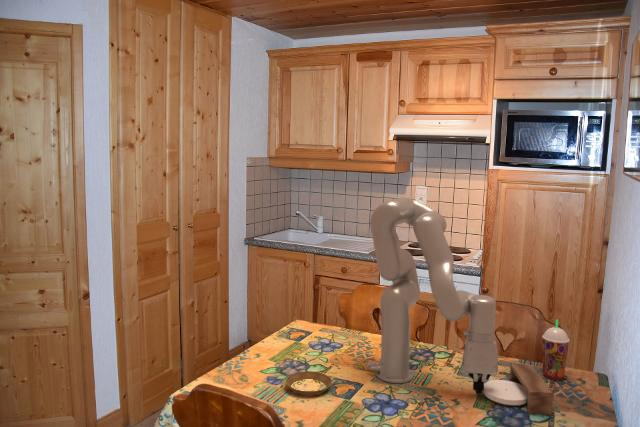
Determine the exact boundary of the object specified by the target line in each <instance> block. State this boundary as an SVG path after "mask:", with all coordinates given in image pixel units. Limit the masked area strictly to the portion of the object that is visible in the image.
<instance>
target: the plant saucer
mask: <svg viewBox="0 0 640 427" xmlns="http://www.w3.org/2000/svg"><path fill="white" fill-rule="evenodd" d="M303 379H313V380H318V381H321V382H322V383H324V384H325V385H326V388H325V389H322V390H318V391H300V390H296V389H294V388H292V387H291V385H292V384H293V383H294V382H296V381H299V380H303ZM285 384H286V385H287V387H288V389H290V390H291V391H293V393H295V394H297V395H299V394H301V395H300V396H304V395H314V396H318V395H317V394H319V395H321V394H323V393H325V392H326V391H327V390H328V389H329V388H330V387H331V386H332V384H333V380H332V378H331V377H330V376H329V375H327V374H326V373H325V374H324V373H323V372H318V371H310V370H309V371H299V372H295V373H292V374H290V375H289V376H287V377H286V378H285Z"/></svg>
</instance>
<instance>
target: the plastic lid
mask: <svg viewBox="0 0 640 427" xmlns="http://www.w3.org/2000/svg"><path fill="white" fill-rule="evenodd" d="M482 394H483V395H484V396H485V397H486V398H487V399H489V400H491V401H493V402H496V403H498V404H502V405H508V406H521V405H525V404H528V392H527V391H526V389H525V388H524V386H522V385H521V384H518V383H515V382H511V381H510V380H505V379H491V380H486V381H485V382H484V391H482Z"/></svg>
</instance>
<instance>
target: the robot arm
mask: <svg viewBox="0 0 640 427" xmlns="http://www.w3.org/2000/svg"><path fill="white" fill-rule="evenodd" d="M404 223H405V224H407V225H408V226H411V227H412V230H413V233H414V236H415V238H416V240H417V244H418V246H419V248H420V250H421V252H422V254H423V258H424V261H425V262H426V266H427V269H428V278H429V285H430V289H431V293H432V296H433V298H434V301H435V304H436V307H437V308H438V311H439V313H440V314H441V316H442V317H443V318H444V319H446V320H447V321H449V322H457V321H460V320H461V319H462V318H463V317H465V316H466V315H469V318H468V329H467V330H464V331H463V336H464V337H466V338H465V341H464V345H463V351H462V363H461V364H462V366H461V367H462V368H461V373H462V375H466V376H469V377H470V378H471V379H472V380H473V381H472V390H473V391H474V392H475V394H476V395H482V394H483V391H484V383H486V382H487V380H488V379H489V378H490V377H494V376H495V377H496V376H497V375H498V371H499V356H498V355H499V354H498V353H499V352H498V342H497V340H495V328H496V327H495V325H496V322H495V321H496V310H497V301H496V299H495V298H494V297H492V296H489V295H486V294H475V293H472V292H470V291H469V292H468V291H466V290H462V289H459V290H457V289H456V285H455V282H454V278H453V267H454V260H455V259H454V255H453V252H452V251H451V247H450V246H449V243H448V241H447V238H446V236H445V234H444V233H445V232H446V229H447V220H446V218H445V217H444V216H443V215H442V213H440V212H438V211H436V210H434V209H432V208H430V207H428V206H427V205H425V204H422V203H420V202H418V201H417V200H414V199H412V198H409V197H398V198H397V197H396V198H392V199H389V200H386V201H384V202H382V203H380V204H378V206H377V207H376V208H374V210H373V212H372V214H371V216H370V221H369V225H370V226H369V228H370V232H371V237H372V242H373V248H374V254H375V258H376V264H377V270H378V273H379V275H380V277H381V279H383V280H385V281H388V282H392V284H390V285H388V286H387V287H385V289H384V290H383V291H382V293H381V296H380V301H379V303H380V304H379V306H380V312H381V337H380V338H381V343H380V344H381V345H380V348H381V349H380V358H379V359H378V361H376V362H375V361H374V362H372V361H367V362H366V364H367V366H366V368H369V369H370V371H375V376H376V377H377V378H378V379H380V380H381V381H384V382H386V383H390V384H391V383H392V384H404V383H408V382H410V381H412V380H413V378H414V372H413V371H412V370H411V369H410V350H411V348H410V347H411V346H410V345H411V316H410V308H411V307H413V306H414V305H415V304H416V303H417V302H418V301H419V299H420V295H421V290H420V289H421V288H420V283H419V276H418V272H417V268H416V266H417V265H416V263H415V258H414V256H413V255H412V254H411V253H410V251H408V250H407V249H405V248H401V245H400V238H399V236H398V235H399V234H398V233H397V231H396V226H398V225H400V224H401V225H402V224H404ZM478 375H479V377H478Z"/></svg>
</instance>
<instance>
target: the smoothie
mask: <svg viewBox="0 0 640 427" xmlns="http://www.w3.org/2000/svg"><path fill="white" fill-rule="evenodd" d="M558 326H559V319H555V326H553V327H550V328H547V330H545V332H544V333H543V334H542V373H543V376H544V377H545V378H547V379H549V380H554V381H559V380H562V379H563V377H564V376H565V372H566V364H567V358H568V351H569V343H570V339H569V336H568V334H567V332H566V331H565V330H564V329H562V328H560V327H558Z"/></svg>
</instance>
